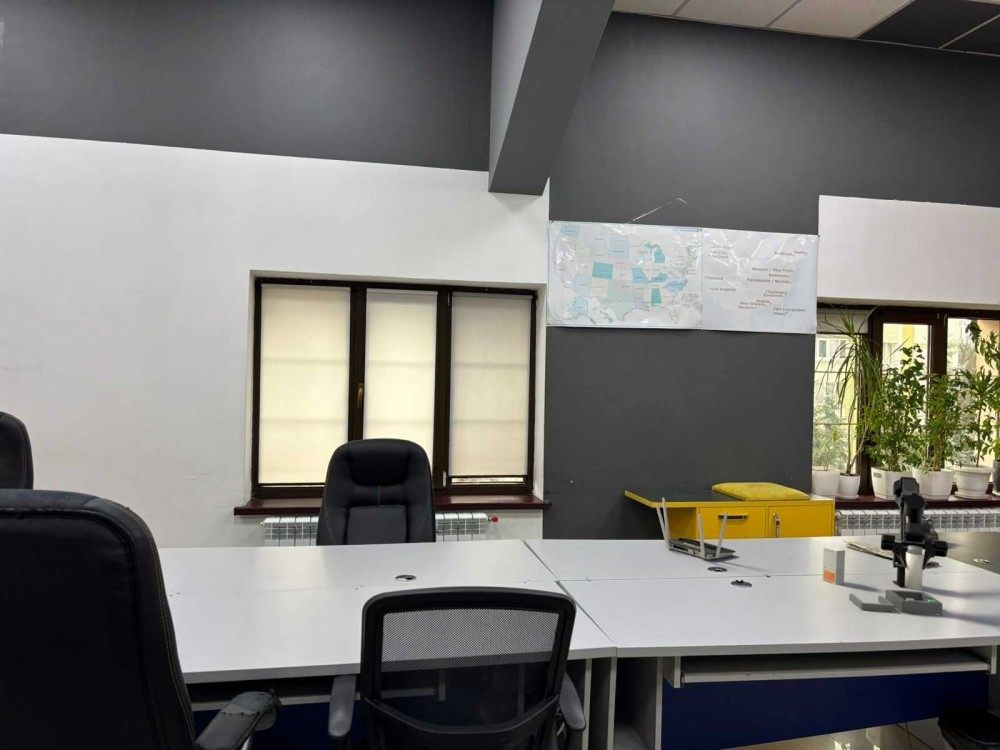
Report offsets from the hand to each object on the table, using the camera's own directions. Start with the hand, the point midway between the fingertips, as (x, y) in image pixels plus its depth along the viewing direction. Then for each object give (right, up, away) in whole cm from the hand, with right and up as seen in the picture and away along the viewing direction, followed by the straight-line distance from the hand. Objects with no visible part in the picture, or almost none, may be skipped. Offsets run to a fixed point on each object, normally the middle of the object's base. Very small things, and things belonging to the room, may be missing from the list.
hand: (914, 568), depth 229 cm
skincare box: (-13, -13, +28) cm, 33 cm away
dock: (0, -13, +1) cm, 13 cm away
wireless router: (-53, -11, +63) cm, 83 cm away
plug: (0, -7, +1) cm, 7 cm away
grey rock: (+56, -14, +95) cm, 111 cm away
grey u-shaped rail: (-13, -12, +2) cm, 18 cm away
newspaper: (+28, -14, +68) cm, 75 cm away
